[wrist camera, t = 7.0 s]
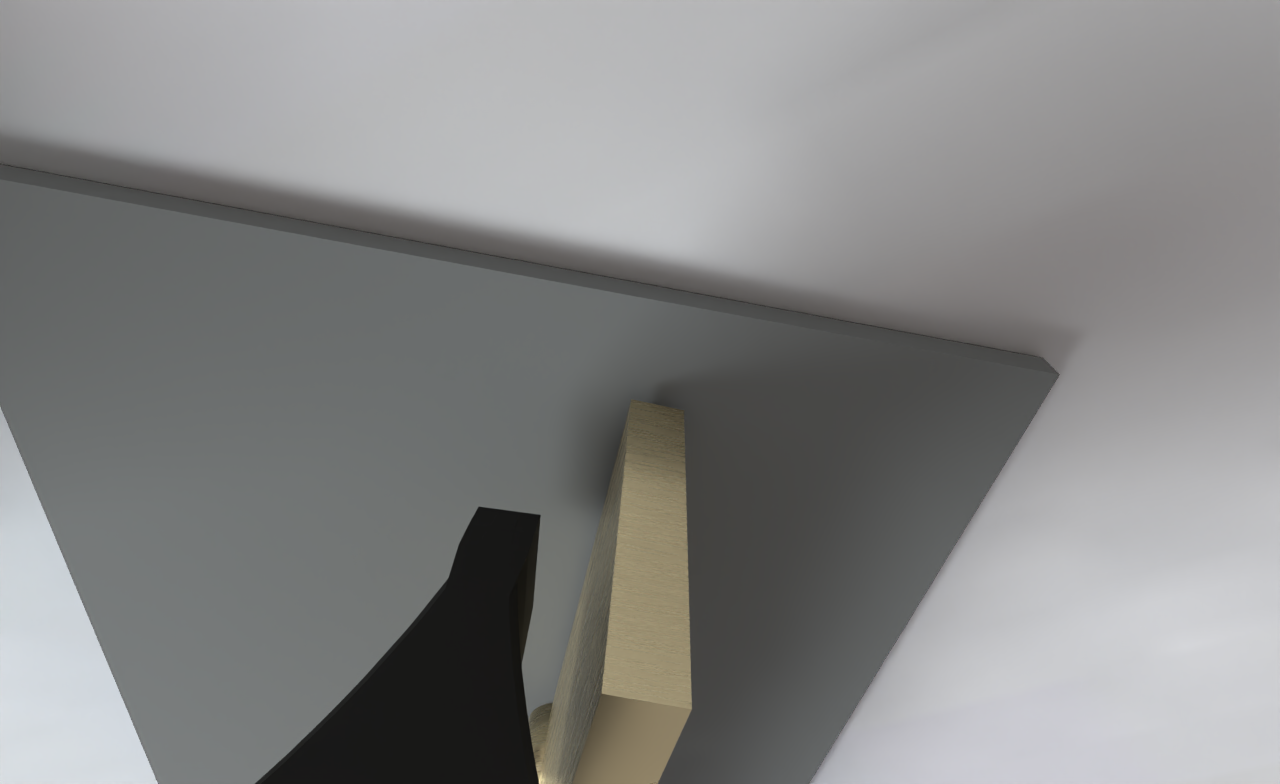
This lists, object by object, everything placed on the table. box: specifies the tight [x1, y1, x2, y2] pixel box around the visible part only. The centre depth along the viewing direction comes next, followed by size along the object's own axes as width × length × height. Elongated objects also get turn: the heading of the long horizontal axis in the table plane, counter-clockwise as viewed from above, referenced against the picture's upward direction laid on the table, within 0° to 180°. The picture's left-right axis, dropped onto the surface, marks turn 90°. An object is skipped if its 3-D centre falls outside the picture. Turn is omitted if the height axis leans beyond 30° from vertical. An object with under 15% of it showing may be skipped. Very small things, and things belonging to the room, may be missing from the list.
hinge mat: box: [0, 164, 1059, 784], centre depth 15 cm, size 16×21×1 cm
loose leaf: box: [539, 399, 692, 784], centre depth 10 cm, size 10×2×5 cm, turn 167°
